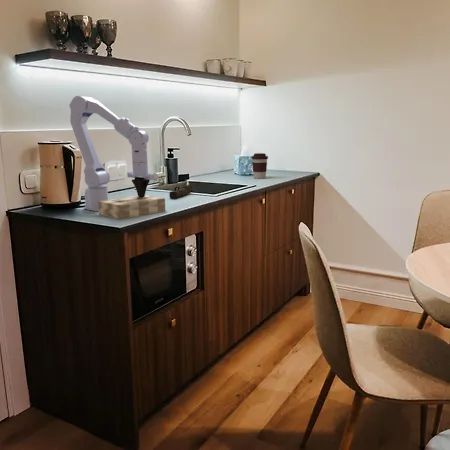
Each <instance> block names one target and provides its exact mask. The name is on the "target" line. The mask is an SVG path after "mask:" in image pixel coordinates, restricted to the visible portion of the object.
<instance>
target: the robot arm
mask: <svg viewBox="0 0 450 450" xmlns="http://www.w3.org/2000/svg"><path fill="white" fill-rule="evenodd" d="M68 106H69V108H70V115H69V116H70V118H69V119H70V125H71V127H72V131H73V133H74V134H73V135H74V136H75V139H76V142H77V145H78V147H79V150H80V153H81V156H82V159H83V162H84V164H85V166H84V169H83V172H84V183H85V184H86V185H87V187H86V189H85V191H84V203H85V206H84V207H83V209H84V210H90V211H92V212H99V205H98V201H103V200H109V194H108V193H109V191H108V183H109V182H110V178H111V177H110V173H109V172H108V171H107V170H106V168H105V165H104V164H103V163H101V161H100V160H99V157H98V154H97V151H96V148H95V146H94V143H93V140H92V137H91V134H90V132H89V128H88V126H87V122H88V120H89V119H90V118H91V116H92V115H93V114H97V115H98V116H99V117H101V118H103V119H104V120H106V121H107V122H108V123H110V124H112V125H113V128H114V130H115V131H116V132H117V133H119V134H120V135H121V136H123V138H125V139H127V140H128V143H129V145H131V161H132V171H130V172H126V173H127V174H126V175H127V176H126V177H127V178H131V183H132V184H133V186H134V187H135V190H136V193H137V196H138V197H145V195H146V193H147V192H146V191H147V187H148V185H149V183H150V181H154V180H155V174H152V173H149V168H148V165H149V164H148V149H147V145H148V142H149V141H150V140H149V139H150V138H149V134H148V133H147V132H146V131H145V130H144V129H140V127H139V126H137V125H134V124H133V123H131V122H130V119H129V118H128V117H118V116H117V114H115V113H113V112H112V111H111V110H109V108H107V107H106V106H105V105H103V104H102V103H101V102H100V101H99V100H97V99H96V98H94V97H92V96H81V95H76V96H73V98H72V100H70V103H69V104H68ZM133 178H134V179H133Z"/></svg>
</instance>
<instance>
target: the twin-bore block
mask: <svg viewBox="0 0 450 450" xmlns="http://www.w3.org/2000/svg"><path fill="white" fill-rule="evenodd" d="M137 197H138V195H133V196H132V195H131V196H125V197H118V198H113V199H108V200H103V201H98V205H99V211H98V214H99V215H100V216H106V217H110V218H115V219H119V220H123V219H130V218H135V217H139V216H145V215H151V214H156V213H161V212H166V199H165V198H164V197H158V196H152V195H146V194H145V197H146V199H141V200H140V199H137ZM123 200H124V201H127V202H122V203H121V202H118V201H123Z"/></svg>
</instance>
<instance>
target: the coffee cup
mask: <svg viewBox="0 0 450 450" xmlns="http://www.w3.org/2000/svg"><path fill="white" fill-rule="evenodd" d="M268 159H269V156H268V155H267V154H266V153H261V152H256V153H253V155H251V160H252V163H251V164H252V174H253V175H252V176H253V179H255V180H256V179H257V180H263V179H264V180H265V179H266V177H267V175H266V174H267V169H268Z"/></svg>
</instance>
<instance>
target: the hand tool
mask: <svg viewBox="0 0 450 450" xmlns="http://www.w3.org/2000/svg"><path fill="white" fill-rule="evenodd" d="M191 192H192V191H191V185H190V184H186V185H184V186H182V188H179V189H175V190H171V191H170V192H169V194H168V195H169V199H171V200H177V199H178V198H179V197H183V196H189V195H190V194H191ZM189 193H190V194H189ZM188 194H189V195H188Z"/></svg>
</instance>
